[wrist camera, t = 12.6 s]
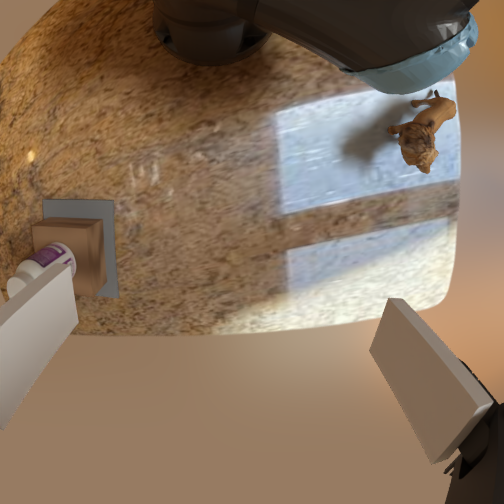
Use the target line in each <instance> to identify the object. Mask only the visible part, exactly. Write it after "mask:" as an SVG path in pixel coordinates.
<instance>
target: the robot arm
mask: <svg viewBox="0 0 504 504" xmlns="http://www.w3.org/2000/svg"><path fill="white" fill-rule="evenodd" d="M153 2H154V11H153V27H154V30H155V33H156V36H157V37H158V39H159V41H160V42H161V43H162V45H163V46H164V47H165V49H166V50H167V51H168V52H169V53H171V54H172V55H173V56H175V57H176V58H178V59H180V60H182V61H185V62H187V63H191V64H195V65H201V66H219V65H226V64H230V63H234V62H237V61H240V60H242V59H244V58H246V57H248V56H250V55H252V54H253V53H255V52H256V51H257V50H259V49H260V48H261V47H262V46H263V45H264V44H265V43H266V41H267V40H268V39H269V37H270V35H271V34H272V32H274V33H276V34H278V35H280V36H282V37H284V38H286V39H288V40H290V41H292V42H294V43H296V44H298V45H300V46H302V47H304V48H306V49H308V50H309V51H311V52H313V53H315V54H317V55H318V56H320V57H322V58H324V59H325V60H327V61H329V62H331V63H332V64H334V65H336V66H337V67H338V68H339V70H340V71H342V72H344V73H345V74H348V75H351V76H355V77H357V78H358V79H360V80H362V81H363V82H365V83H367V84H368V85H370V86H371V87H373V88H375V89H376V90H378V91H380V92H383V93H386V94H400V95H404V94H409V93H414V92H417V91H420V90H422V89H425V88H427V87H429V86H431V85H433V84H435V83H437V82H438V81H440V80H442V79H443V78H445V77H446V76H448V75H449V74H450V73H451V72H453V71H454V70H455V69H456V68H457V67H458V66H460V65H461V64H462V62H463V61H464V60H465V59H466V57H467V56H468V55H469V54H470V51H469V48H470V47H473V46H474V45H475V44H476V41H477V38H478V26H477V24H476V22H475V20H474V17H473V15H472V14H471V13H470V12H469V10H470V9H471V8H472V7H473V6H474V5H475V4H476V3H477V2H479V0H153ZM77 324H78V316H77V311H76V304H75V298H74V290H73V283H72V274H71V265H68V264H61V263H55V264H54V265H52V266H51V267H50V268H48V269H47V270H46V271H44V272H43V273H42V274H41V275H39V276H38V277H37V278H35V279H34V280H33V281H32V282H30V283H29V284H28V285H27V286H25V287H24V288H23V289H22V290H20V291H19V292H18V293H17V294H15V295H14V296H13V297H12V298H11V299H9V300H8V301H7V302H6V303H5V304H4V305H2V306H1V307H0V429H2V430H4V429H5V428H6V426H7V424H8V422H9V421H10V419H11V418H12V416H13V414H14V413H15V411H16V410H17V408H18V407H19V405H20V403H21V402H22V400H23V399H24V397H25V396H26V394H27V393H28V391H29V390H30V388H31V387H32V385H33V384H34V382H35V381H36V379H37V378H38V376H39V375H40V374H41V372H42V371H43V369H44V368H45V367H46V365H47V364H48V362H49V361H50V359H51V358H52V357H53V355H54V354H55V353H56V351H57V350H58V349H59V347H60V346H61V345H62V343H63V342H64V341H65V339H66V338H67V337H68V335H69V334H70V333H71V331H72V330H73V329H74V328H75V326H76V325H77ZM369 351H370V353H371V355H372V356H373V358H374V360H375V362H376V363H377V365H378V367H379V368H380V370H381V372H382V373H383V375H384V377H385V379H386V381H387V382H388V384H389V386H390V388H391V389H392V391H393V393H394V395H395V397H396V398H397V400H398V402H399V404H400V406H401V407H402V409H403V411H404V413H405V415H406V417H407V418H408V420H409V422H410V424H411V426H412V428H413V430H414V432H415V433H416V435H417V437H418V439H419V441H420V443H421V445H422V447H423V449H424V450H425V453H426V455H427V457H428V459H429V461H430V463H431V465H432V464H435V463H438V462H441V461H443V460H446V459H448V458H449V457H450V456H451V455H452V454H453V453H454V451H455V450H456V449H457V448H458V449H459V451H460V452H461V454H460V455H459V456H458V457H457V458H456V459H455V460H454V461H453V462H452V463H451V464H450V465H449V466H448V467H447V468H446V469H445V472H444V474H447V473H448V472H449V471H450V470H451V469H452V468H453V467H454V470H453V471H452V473H451V474H450V475H451V476H452V479H451V484H450V487H449V491H448V495H447V498H446V502H445V504H504V403H502V404H500V405H499V404H498V402H497V401H496V400H495V399H494V398H493V396H492V395H491V394H490V392H488V390H487V389H486V388H485V386H484V385H483V384H482V383H481V382H480V380H478V378H477V377H476V376H475V374H474V373H473V374H472V371H471V370H470V368H469V367H468V366H467V365H466V364H465V363H464V362H463V361H461V360H460V359H458V358H457V357H456V356H455V355H454V354H453V352H452V351H451V350H450V349H449V348H448V347H447V346H446V344H445V343H444V342H443V341H442V340H441V339H440V338H439V337H438V336H437V334H436V333H435V332H434V331H433V330H432V329H431V328H430V327H429V326H428V325H427V324H426V323H425V321H424V320H423V319H422V318H421V317H420V316H419V315H418V314H417V313H416V312H415V311H414V310H413V309H412V308H411V307H410V306H409V305H408V304H407V303H406V302H405V301H404V300H403V299H400V298H388V300H387V303H386V306H385V309H384V312H383V315H382V318H381V321H380V324H379V326H378V329H377V332H376V335H375V337H374V340H373V342H372V345H371V347H370V350H369Z"/></svg>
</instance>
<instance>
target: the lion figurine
mask: <svg viewBox="0 0 504 504" xmlns="http://www.w3.org/2000/svg"><path fill="white" fill-rule="evenodd" d="M434 94H435V96H436V98H432V99H429V100H427V99H424V100H413V101H412V105H413V107H415V108H418V107H419V106H421V105H429V106H432V107H430V108H428V109H425V110H423V111H422V112H420V113H419V114H418V115H417V116H416V117H415V118H414V120H413V121H411V122H408V123H405V124H401V125H398V126H390V127H389V128H388V133H389V134H390V135H394V134H397V133H399V135H400V137H399V138H398V141H399V143H398V144H399V145H400V146H401V152H402V155H403V158H404V161H405V162H406V163H407V164H408V165H409V166H410V165H416V166H417V168H419V170H420V171H421V172H423V173H426V174H428V173H430V165H431V164H432V162H433V161H434V160H435V158H436V157H437V156H438V154H439V152H438V151H437V150H435V144H434V141H435V136H434V133H436V131H437V130H438V129H439V128H440V126H441V125H442V123H443V122H444V121H446V120H449V119H452V118H453V117H454V116H455V114H456V104H455V102H454V101H452V100H450V99H448V98H444V97H440V96H439V93H438V91H437V90H435V92H434Z"/></svg>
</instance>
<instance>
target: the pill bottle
mask: <svg viewBox="0 0 504 504" xmlns="http://www.w3.org/2000/svg"><path fill="white" fill-rule="evenodd" d="M55 263H61V264H68V265H71V274H72V278H73V276H74V274H75V272H76V261H75V258H74V255H73V253H72V251H71V250H70V249H69V248H68V247H67V246H66V245H64V244H62V243H59V242H53V243H51V244H49V245H47V246H45V247H44V248H42V249H41V250H39V251H38V252H36V253H35V254H33V255H31V256H30V257H28V258H27V259H26V260H24V261H23V262H21V263H20V264H19V266H18V267H17V270H16V274H14V275H13V276H12V277H11V278H10V279H9V280H8V282H7V292H8V295H9V298H10V299H11V298H12V297H13V296H14V295H15V294H17V293H18V292H19V291H20V290H22V289H23V288H24V287H25V286H27V285H28V284H29V283H30V282H32V281H33V280H34V279H35V278H37V277H38V276H39V275H41V274H42V273H43V272H44V271H46V270H47V269H48V268H50V267H51V266H52V265H54V264H55Z"/></svg>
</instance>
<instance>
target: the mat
mask: <svg viewBox="0 0 504 504" xmlns="http://www.w3.org/2000/svg"><path fill="white" fill-rule="evenodd" d="M43 216H44V220H45V219H48V218H50V217H66V218H90V219H103V232H104V249H105V263H106V274H107V282H106V284H105V285H104V286H103V287H102V288H101V289H100V290H99V291H98V293H97V294H96V295H97V296H104V297H112V298H119V291H118V281H117V269H116V254H115V235H114V200H85V199H43Z"/></svg>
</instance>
